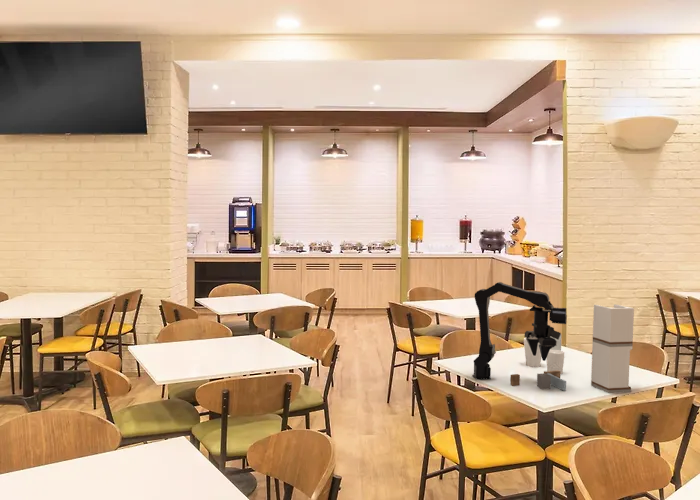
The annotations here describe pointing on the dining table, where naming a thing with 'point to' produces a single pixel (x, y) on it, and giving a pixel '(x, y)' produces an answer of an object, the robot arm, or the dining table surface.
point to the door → (558, 382)
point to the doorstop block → (543, 381)
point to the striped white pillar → (612, 348)
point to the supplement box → (557, 344)
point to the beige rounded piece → (555, 360)
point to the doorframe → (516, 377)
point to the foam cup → (530, 358)
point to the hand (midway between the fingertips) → (539, 358)
